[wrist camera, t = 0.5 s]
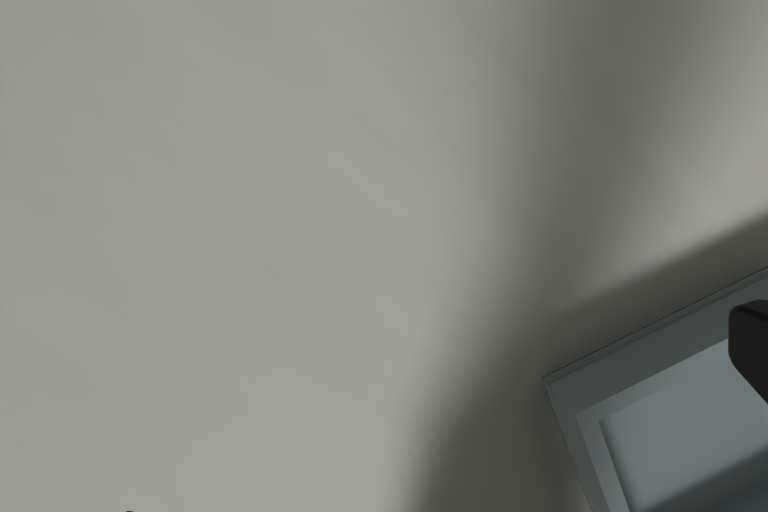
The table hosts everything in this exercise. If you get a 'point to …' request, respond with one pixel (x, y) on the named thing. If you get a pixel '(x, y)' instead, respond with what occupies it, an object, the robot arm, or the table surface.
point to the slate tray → (668, 415)
